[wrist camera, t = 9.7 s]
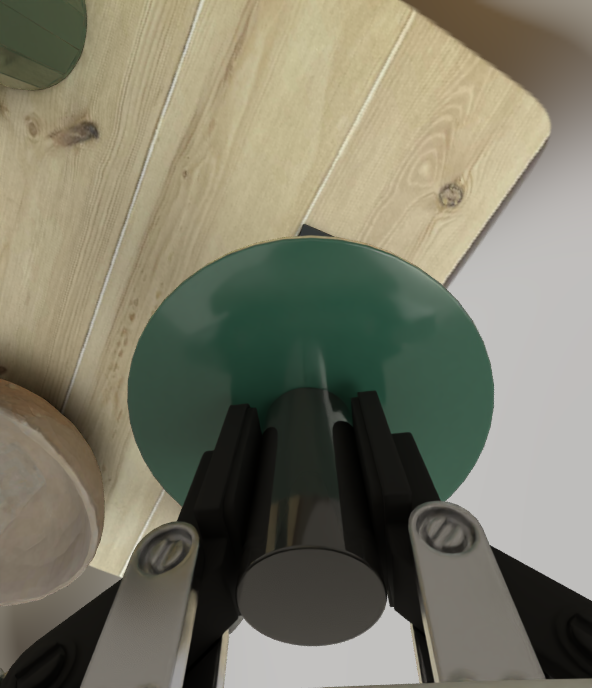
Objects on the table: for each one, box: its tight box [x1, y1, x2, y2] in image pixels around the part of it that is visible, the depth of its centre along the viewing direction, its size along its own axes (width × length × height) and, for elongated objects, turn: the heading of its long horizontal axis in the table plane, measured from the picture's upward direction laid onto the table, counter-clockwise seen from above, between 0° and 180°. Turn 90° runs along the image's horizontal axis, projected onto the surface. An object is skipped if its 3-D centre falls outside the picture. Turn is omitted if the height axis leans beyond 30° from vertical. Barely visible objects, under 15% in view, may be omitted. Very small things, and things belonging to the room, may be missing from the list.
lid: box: [127, 235, 494, 646], centre depth 10 cm, size 12×12×7 cm
